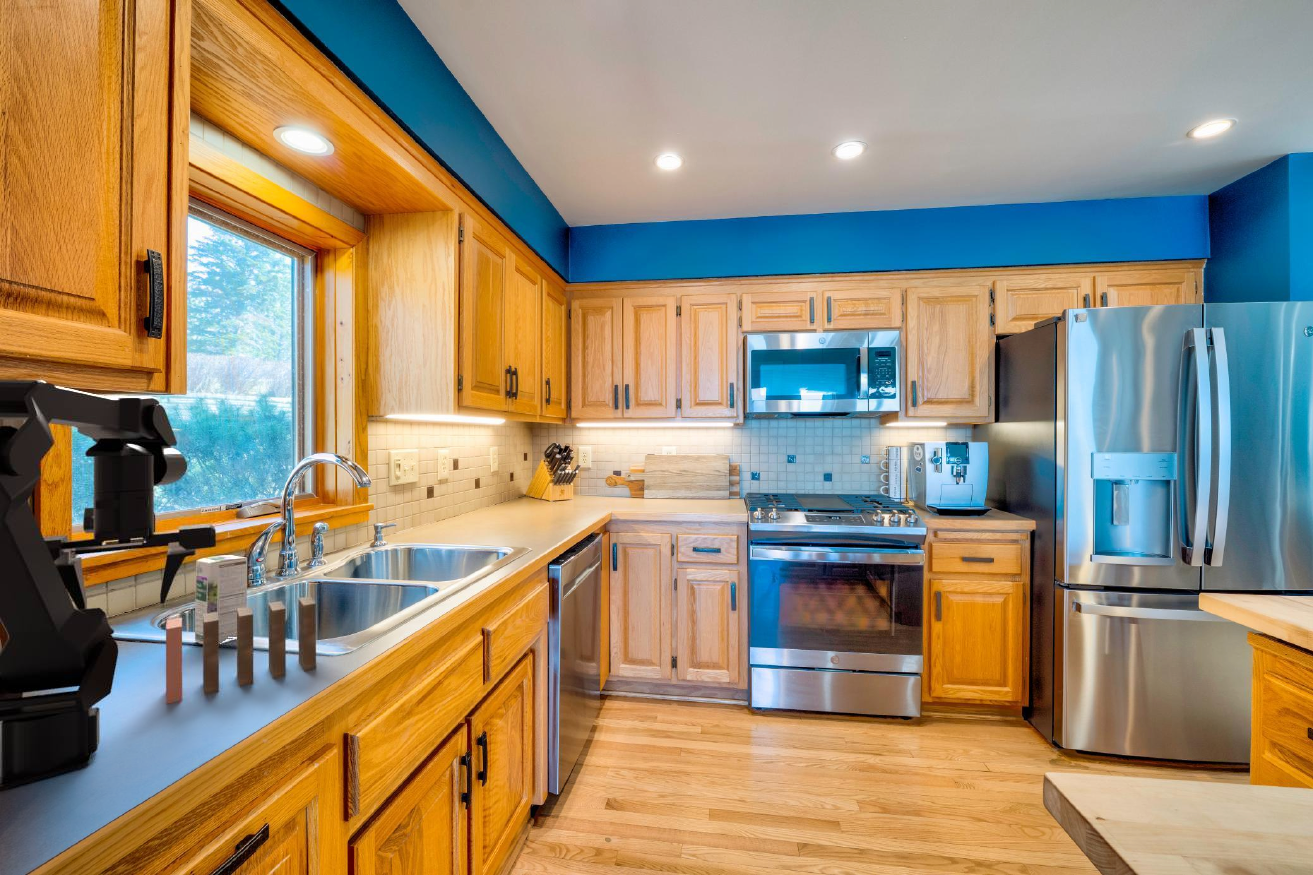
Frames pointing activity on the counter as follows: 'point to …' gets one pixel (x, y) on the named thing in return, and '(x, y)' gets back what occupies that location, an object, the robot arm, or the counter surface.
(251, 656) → the domino
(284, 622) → the domino
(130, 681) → the counter surface
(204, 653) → the domino
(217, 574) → the syrup box
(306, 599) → the domino
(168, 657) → the domino
